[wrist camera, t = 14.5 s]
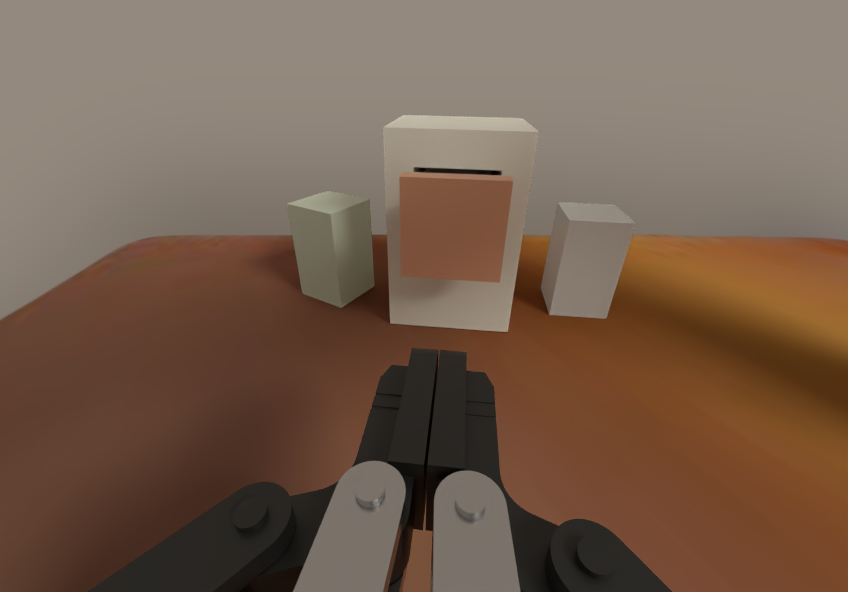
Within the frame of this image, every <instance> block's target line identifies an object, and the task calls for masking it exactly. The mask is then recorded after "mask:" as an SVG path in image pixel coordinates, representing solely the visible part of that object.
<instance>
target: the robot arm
mask: <svg viewBox="0 0 848 592" xmlns="http://www.w3.org/2000/svg"><path fill="white" fill-rule="evenodd" d="M466 355H467V354H466V352H459V351H446V350H440V358H439V367H438V350H432V349H419V348H412V351H411V355H410V360H409V365H408V366H397V365H391V367H390V368H389V369H388V370H387V371H386V372H385V373H384V374H383V375H382V376H381V377H380V381H379V384H378V387H377V391H376V396H375V397H374V401H373V404H372V409H371V411H370V414H369V417H368V421H367V424H366V427H365V431H364V434H363V437H362V441H361V444H360V447H359V451H358V454H357V457H356V460H355V463H354V464H353V466H352V468H351V469H349V470H348V471H347V472H346V473H345V474H344V475H343V476H342V477H341V479H340V480H339V481H338V482H337V483H335V484H333V485H331V486H329V487H327V488H325V489H321V490H317V491H313V492H308V493H303V494H299V495H294V496H289V495H288V493H287V491H286V490H285V489H284V488H283V487H281V486H280V485H277V484H275V483H270V482H260V483H255V484H251V485H248V486H246V487H244V488H242V489H240V490H238V491H237V492H235V493H234V494H232V495H231V496H229V497H228V498H226V499H225V500H223V501H222V502H220V503H219V504H217V505H216V506H214V507H213V508H211V509H210V510H208V511H207V512H205V513H204V514H202V515H201V516H200V517H198V518H197V519H195V520H194V521H192V522H191V523H189V524H188V525H186V526H185V527H183V528H182V529H180V530H179V531H177V532H176V533H174V534H173V535H171V536H170V537H168V538H167V539H165V540H164V541H162V542H161V543H159V544H158V545H156V546H155V547H154V548H152V549H151V550H149V551H148V552H146V553H145V554H143V555H142V556H140V557H139V558H137V559H136V560H134V561H133V562H131V563H130V564H128V565H127V566H125V567H124V568H122V569H121V570H119V571H118V572H116V573H115V574H113V575H112V576H110V577H109V578H108V579H106V580H105V581H103V582H102V583H100V584H99V585H97V586H96V587H94V588H93V589H91V590H90V591H88V592H402V590H403V585H404V580H405V575H406V570H407V563H408V561H409V556H410V549H411V541H412V533H413V529H419V530H423V523H424V514H425V504H426V530H429V531H433V536H432V560H431V592H672V591H671V590H670V589H669V588H668V587H667V586H666V585H665V584H664V583H663V582H662V581H661V580H660V579H659V578H658V577H657V576H656V575H655V574H654V573H653V572H652V571H651V570H650V569H649V568H648V567H647V566H646V565H645V564H644V563H643V562H642V561H641V560H640V559H639V558H638V557H637V556H636V555H635V554H634V553H633V552H632V551H631V550H630V549H629V548H628V547H627V546H626V545H625V544H624V543H623V542H622V541H621V540H620V539H619V538H618V537H617V536H616V535H614V534H613V533H612V532H611V531H610V530H608V529H607V528H605V527H603V526H602V525H600V524H598V523H595V522H593V521H589V520H585V519H573V520H569V521H566V522H564V523H562V524H561V525H560V526H557V525H555V524H553V523H551V522H548V521H546V520H544V519H542V518H539V517H537V516H535V515H533V514H531V513H529V512H527V511H525V510H524V509H523V508H521V507H520V506H519V505H517V504H516V503H515V502H514V501H513V500H512V498H511V497H510V496H509V495H508V493H507V492H506V490H505V488H504V486H503V484H502V481H501V477H500V469H499V455H498V440H497V426H496V412H495V398H494V387H493V385H492V383H491V382H490V380H489V379H488V377H487V375H486V374H485V373H484V372H472V371H466ZM426 495H427V500H426Z"/></svg>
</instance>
